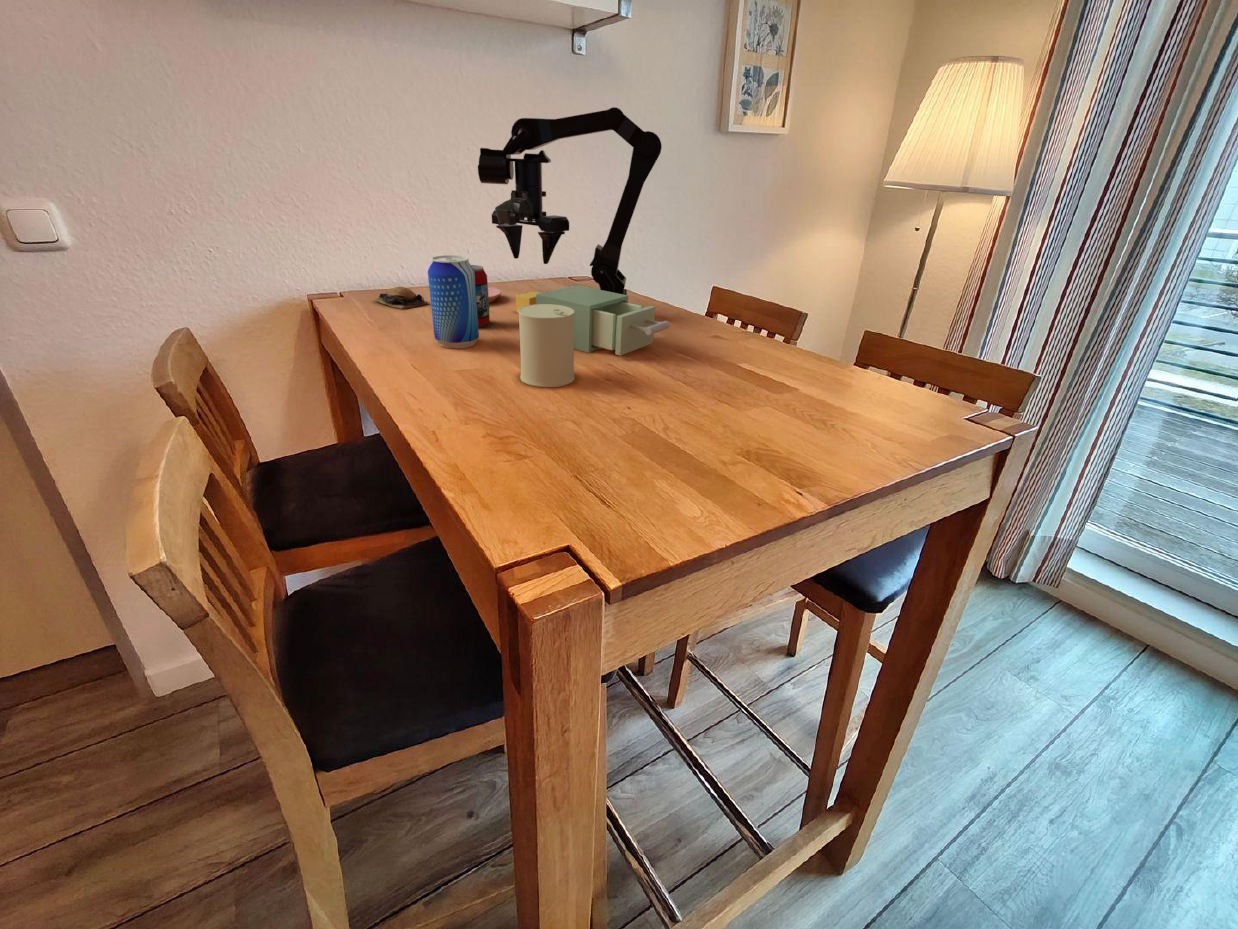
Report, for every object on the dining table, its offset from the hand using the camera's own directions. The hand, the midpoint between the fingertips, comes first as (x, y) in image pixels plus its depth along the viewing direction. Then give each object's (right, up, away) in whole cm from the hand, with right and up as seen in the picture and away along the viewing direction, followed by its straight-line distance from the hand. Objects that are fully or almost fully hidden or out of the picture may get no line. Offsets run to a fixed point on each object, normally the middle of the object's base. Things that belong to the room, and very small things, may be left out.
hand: (530, 261), depth 134 cm
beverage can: (-11, -16, -6) cm, 21 cm away
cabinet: (+13, -21, -12) cm, 27 cm away
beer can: (-12, -23, -19) cm, 32 cm away
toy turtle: (-32, -8, +7) cm, 34 cm away
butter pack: (-1, -10, +6) cm, 12 cm away
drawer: (+21, -23, -18) cm, 36 cm away
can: (+8, -32, -34) cm, 47 cm away
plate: (-17, -5, +14) cm, 22 cm away
